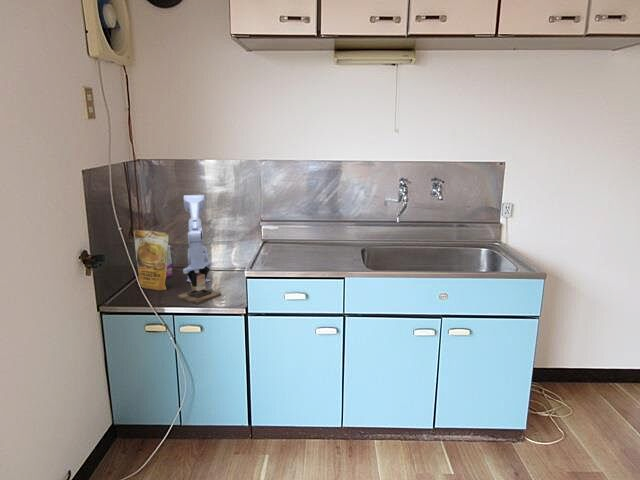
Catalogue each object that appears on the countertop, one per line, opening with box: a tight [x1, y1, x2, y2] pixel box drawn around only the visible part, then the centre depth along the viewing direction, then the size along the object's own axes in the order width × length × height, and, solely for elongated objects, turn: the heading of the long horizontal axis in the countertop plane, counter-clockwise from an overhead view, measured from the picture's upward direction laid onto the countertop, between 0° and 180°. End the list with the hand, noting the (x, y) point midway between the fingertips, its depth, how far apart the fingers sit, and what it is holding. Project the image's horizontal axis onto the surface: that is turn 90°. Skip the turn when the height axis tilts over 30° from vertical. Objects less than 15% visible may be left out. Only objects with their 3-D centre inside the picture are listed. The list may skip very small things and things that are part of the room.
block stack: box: [190, 272, 207, 291], centre depth 218 cm, size 4×4×7 cm
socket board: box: [176, 288, 222, 305], centre depth 219 cm, size 14×14×2 cm
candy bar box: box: [166, 245, 174, 279], centre depth 243 cm, size 11×5×16 cm, turn 148°
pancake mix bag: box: [132, 229, 170, 291], centre depth 228 cm, size 7×19×28 cm, turn 69°
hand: (198, 284), depth 218 cm, fingers closed on block stack, 4 cm apart
